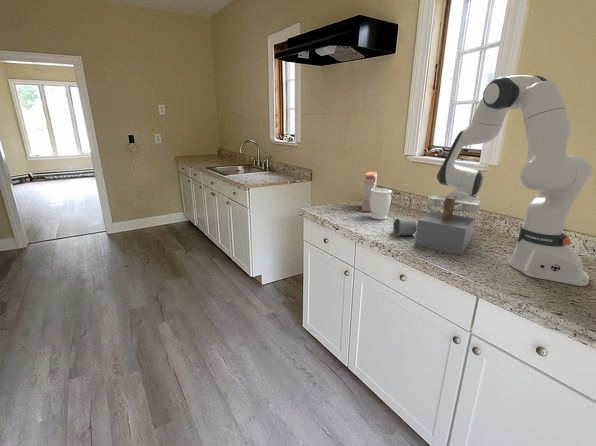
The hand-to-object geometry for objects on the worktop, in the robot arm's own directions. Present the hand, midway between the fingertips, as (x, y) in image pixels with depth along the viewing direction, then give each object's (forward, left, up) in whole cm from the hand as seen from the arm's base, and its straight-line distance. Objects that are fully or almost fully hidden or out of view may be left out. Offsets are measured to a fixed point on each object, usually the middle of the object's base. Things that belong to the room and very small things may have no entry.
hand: (448, 207), depth 129 cm
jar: (+37, -19, -16) cm, 45 cm away
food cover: (0, -1, -16) cm, 16 cm away
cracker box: (+49, -31, -16) cm, 60 cm away
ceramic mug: (+18, -2, -16) cm, 24 cm away
